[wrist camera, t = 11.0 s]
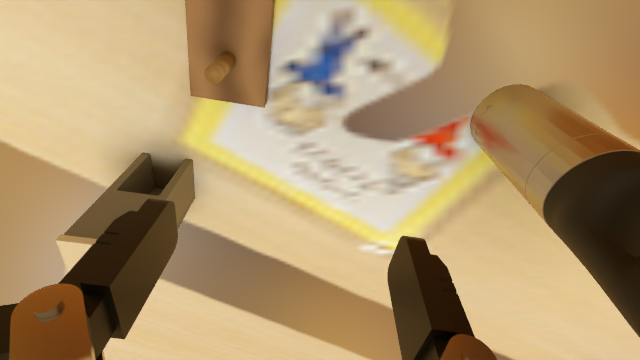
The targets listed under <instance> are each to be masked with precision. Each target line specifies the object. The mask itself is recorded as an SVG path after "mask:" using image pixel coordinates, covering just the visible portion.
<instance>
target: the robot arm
mask: <svg viewBox="0 0 640 360" xmlns="http://www.w3.org/2000/svg"><path fill="white" fill-rule="evenodd" d="M471 133H472V136H473V138H474V140H475V141H476V142H477V143H478V144H479V146H480V147H481V148H482V149H483V150H484V152H485V153H486V154H487V155H488V156H489V158H490V159H491V160H492V161H493V162H494V163H495V165H496V166H497V167H498V168H499V169H500V170H501V171H502V173H503V174H504V175H505V176H506V177H507V178H508V180H509V181H510V182H511V183H512V184H513V185H514V186H515V188H516V189H517V190H518V191H519V192H520V193H521V195H522V196H523V197H524V198H525V199H526V200H527V201H528V203H529V204H530V205H531V206H532V207H533V208H534V209H535V211H536V212H537V213H538V214H539V215H540V216H541V217H542V219H543V220H544V221H545V222H546V223H547V224H548V225H549V227H550V228H551V229H552V230H553V231H554V232H555V233H556V234H557V235H558V237H559V238H560V239H561V240H562V241H563V242H564V243H565V244H566V245H567V246H568V248H569V249H570V250H571V251H572V252H573V253H574V255H575V256H576V257H577V258H578V259H579V260H580V262H581V263H582V264H583V265H584V266H585V267H586V269H587V270H588V271H589V272H590V274H591V275H592V276H593V278H594V279H595V280H596V281H597V283H598V284H599V285H600V286H601V288H602V289H603V290H604V292H605V293H606V294H607V296H608V297H609V298H610V300H611V301H612V302H613V303H614V305H615V306H616V307H617V309H618V310H619V311H620V313H621V314H622V315H623V317H624V318H625V319H626V321H627V322H628V323H629V325H630V326H631V327H632V329H633V330H634V331H635V332H636V333H637V335H638V336H639V337H640V150H638V149H637V148H635V147H633V146H631V145H630V144H628V143H626V142H625V141H623V140H621V139H619V138H618V137H616V136H614V135H612V134H611V133H609V132H607V131H605V130H604V129H602V128H600V127H599V126H597V125H595V124H593V123H592V122H590V121H588V120H587V119H585V118H583V117H582V116H580V115H578V114H576V113H575V112H573V111H571V110H570V109H568V108H566V107H565V106H563V105H561V104H559V103H558V102H556V101H554V100H553V99H551V98H549V97H548V96H546V95H544V94H543V93H541V92H539V91H537V90H536V89H534V88H532V87H530V86H526V85H510V86H506V87H503V88H501V89H498V90H496V91H495V92H493V93H491V94H490V95H489V96H488V97H486V98H485V99H484V100H483V101H482V102H481V103H480V105H479V106H478V107H477V109H476V111H475V112H474V115H473V117H472V120H471ZM177 238H178V233H177V221H176V211H175V204H174V202H173V201H168V200H161V199H154V198H149V199H147V200H146V201H145V203H144V204H143V205H142V206H141V207H140V209H139V210H138V211H128V212H126V213H125V214H123V215H121V216H120V217H118V218H116V219H115V220H114V221H113V222H112V223H111V224H110V225H109V227H108V228H107V229H106V230H105V231H104V234H102V235H101V236H100V237H99V238H98V239H97V240H96V243H95V244H93V245H92V246H91V247H90V248H89V249H88V251H87V252H86V253H85V254H84V255H83V256H82V257H81V259H80V260H79V261H78V262H77V263H76V264H75V265H74V267H73V268H72V269H71V270H70V271H69V272H68V273H67V275H66V276H65V277H64V278H63V279H62V280H61V281H60V282H59V283H58V284H54V285H50V286H46V287H43V288H41V289H39V290H36V291H34V292H33V293H31V294H30V295H28V296H27V297H25V298H24V299H23V300H22V301H21V302H20V303H17V304H10V305H3V306H0V360H105V357H104V352H103V349H104V348H105V346H106V344H107V343H108V341H109V339H110V338H119V339H125V338H126V336H127V334H128V332H129V330H130V329H131V327H132V325H133V323H134V322H135V320H136V318H137V316H138V314H139V313H140V311H141V309H142V307H143V306H144V304H145V302H146V300H147V298H148V297H149V295H150V293H151V291H152V290H153V288H154V286H155V284H156V282H157V281H158V279H159V277H160V275H161V274H162V272H163V270H164V268H165V266H166V265H167V263H168V261H169V259H170V258H171V255H172V254H173V252H174V250H175V247H176V244H177ZM388 285H389V291H390V296H391V301H392V307H393V312H394V317H395V323H396V328H397V333H398V339H399V344H400V350H401V355H402V360H497V358H496V356H495V355H494V353H493V352H492V351H491V350H490V349H489V347H488V346H486V345H485V344H484V343H483V342H482V341H480V340H478V339H477V338H475V336H474V334H473V331H472V329H471V326H470V324H469V321H468V319H467V316H466V314H465V311H464V309H463V306H462V304H461V301H460V299H459V296H458V294H456V289H455V286H454V284H453V283H452V278H451V276H450V273H449V271H448V268H447V267H446V265H445V264H444V263H443V262H442V261H441V260H440V258H439V257H438V256H437V255H431V254H430V252H429V249H428V247H427V244H426V241H425V240H424V239H422V238H415V237H408V236H402V237H401V238H400V240H399V242H398V245H397V247H396V250H395V252H394V255H393V257H392V259H391V262H390V264H389V268H388Z"/></svg>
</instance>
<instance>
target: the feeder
mask: <svg viewBox="0 0 640 360" xmlns="http://www.w3.org/2000/svg"><path fill="white" fill-rule="evenodd" d="M149 198H154V199H161V200H168V201H173V202H174V204H175V211H176V221H177V230H178V228H179V226H180V224H181V222H182V220H183V219H184V217H185V215H186V213H187V211H188V210H189V208H190V206H191V204H192V202H193V201H194V199H195V191H194V175H193V160H190V159H185V160H184V162H183V163H182V164H181V166H180V167H179V169H178V170H177V171H176V173H175V174H174V176H173V177H172V178H171V180H170V181H169V183H168V184H167V185H166V187H165V188H164V189H162V188H155V186H154V179H153V172H152V165H151V158H150V154H148V153H142V154H141V155H140V156H139V157H138V158H137V159H136V160H135V161H134V162H133V163H132V164H131V165H130V166H129V167H128V168H127V169H126V170H125V172H124V173H123V174H122V175H121V176H120V177H119V178H118V179H117V180H116V181H115V182H114V183H113V184H112V185H111V186H110V187H109V188H108V189H107V190H106V191H105V192H104V193H103V194H102V195H101V196H100V197H99V198H98V200H96V201H95V203H94V204H93V205H92V206H91V207H90V208H89V209H88V210H87V211H86V212H85V213H84V214H83V215H82V216H81V217H80V218H79V219H78V220H77V221H76V222H75V223H74V224H73V226H71V227H70V228H69V230H67V232H66V233H65V234H64V235H60V236H59V237H58V239H57V240H56V243H57V245H58V247H59V250H60V252H61V255H62V257H63V260H64V263H65V265H66V268H67V270H68V272H69V271H70V270H71V269H72V268H73V267H74V265H75V264H76V263H77V262H78V261H79V260H80V259H81V257H82V256H83V255H84V254H85V253H86V252H87V251H88V249H89V248H90V247H91V246H92V245H93V244H95V243H96V240H97V239H98V238H99V237H100V236H101V235H102V234H104V231H105V230H106V229H107V228H108V227H109V225H110V224H111V223H112V222H113V221H114V220H115V219H116V218H118V217H120V216H121V215H123V214H125V213H126V212H128V211H138V210H139V209H140V207H141V206H142V205H143V204H144V203H145V201H146V200H147V199H149Z"/></svg>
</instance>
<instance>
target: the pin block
mask: <svg viewBox="0 0 640 360" xmlns="http://www.w3.org/2000/svg"><path fill="white" fill-rule="evenodd" d="M274 2H275V0H185V5H186V23H187V40H188V57H189V74H190V91H191V96H195V97H202V98H208V99H214V100H220V101H227V102H233V103H239V104H246V105H252V106H258V107H264V108H265V105H266V103H267V94H268V81H269V68H270V54H271V41H272V28H273V15H274Z"/></svg>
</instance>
